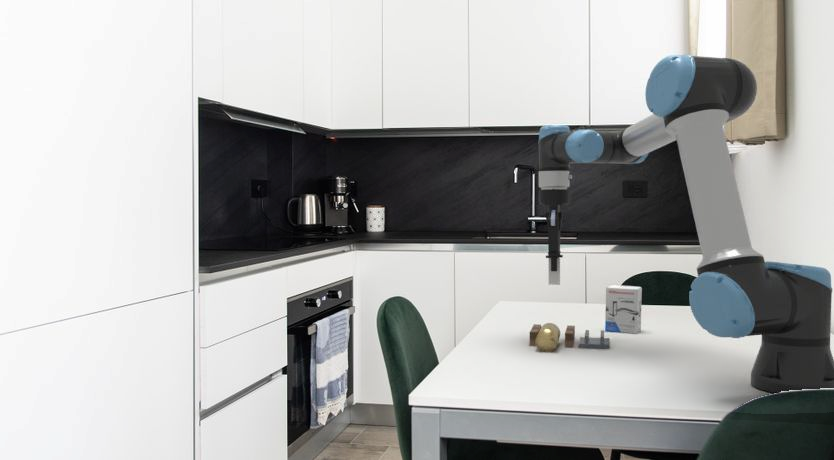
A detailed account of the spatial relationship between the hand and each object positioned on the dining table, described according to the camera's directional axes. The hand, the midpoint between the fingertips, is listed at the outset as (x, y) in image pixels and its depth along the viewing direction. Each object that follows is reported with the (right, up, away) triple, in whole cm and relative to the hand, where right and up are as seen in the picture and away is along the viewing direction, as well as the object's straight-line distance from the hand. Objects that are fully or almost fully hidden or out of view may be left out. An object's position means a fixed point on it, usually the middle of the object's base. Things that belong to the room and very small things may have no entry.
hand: (554, 284), depth 205 cm
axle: (-3, -12, -10) cm, 16 cm away
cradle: (+8, -14, -7) cm, 18 cm away
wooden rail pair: (-1, -14, -3) cm, 14 cm away
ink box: (+20, -13, +13) cm, 27 cm away
